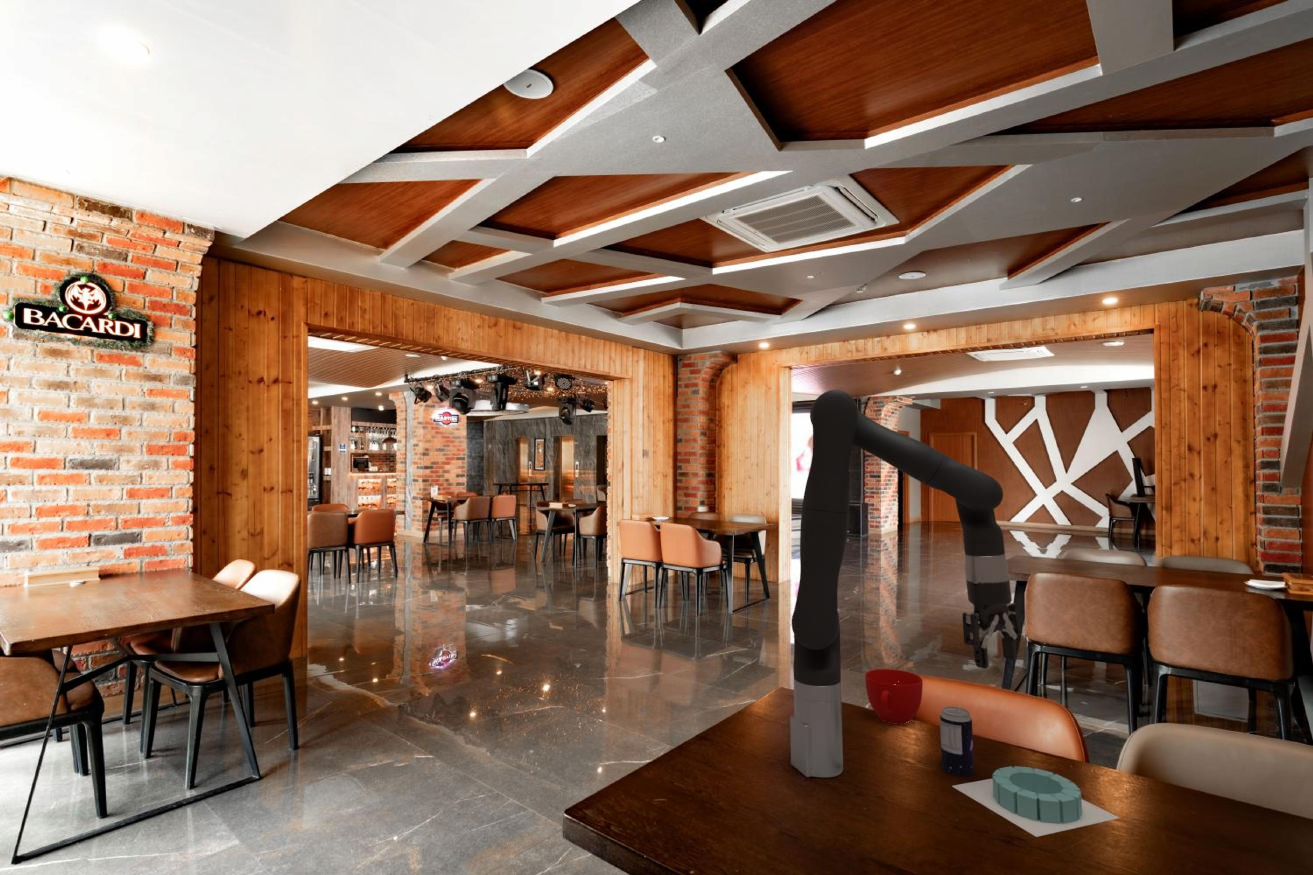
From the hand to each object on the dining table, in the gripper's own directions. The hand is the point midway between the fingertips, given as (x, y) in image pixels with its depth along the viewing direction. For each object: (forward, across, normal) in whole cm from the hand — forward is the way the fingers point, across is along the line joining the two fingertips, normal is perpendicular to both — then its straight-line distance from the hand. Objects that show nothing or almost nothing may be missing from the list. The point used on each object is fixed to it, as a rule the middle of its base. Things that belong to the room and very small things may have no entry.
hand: (996, 662), depth 124 cm
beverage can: (+22, +6, -7) cm, 23 cm away
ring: (+21, +6, +9) cm, 24 cm away
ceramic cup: (+21, -5, -32) cm, 39 cm away
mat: (+22, +5, +8) cm, 24 cm away
